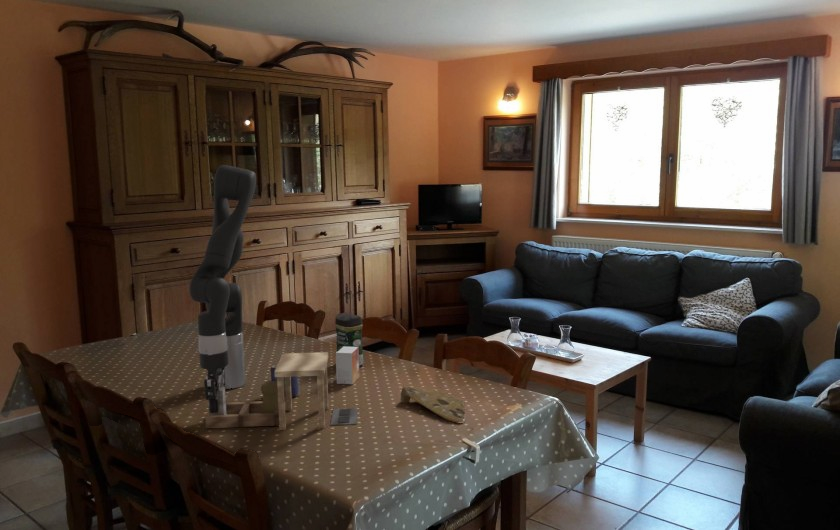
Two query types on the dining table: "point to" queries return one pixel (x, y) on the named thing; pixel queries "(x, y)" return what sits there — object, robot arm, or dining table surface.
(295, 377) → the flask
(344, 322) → the coffee jar
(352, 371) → the small box
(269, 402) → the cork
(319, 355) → the wooden stool
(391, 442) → the dining table surface
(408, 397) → the decorative stone
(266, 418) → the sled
